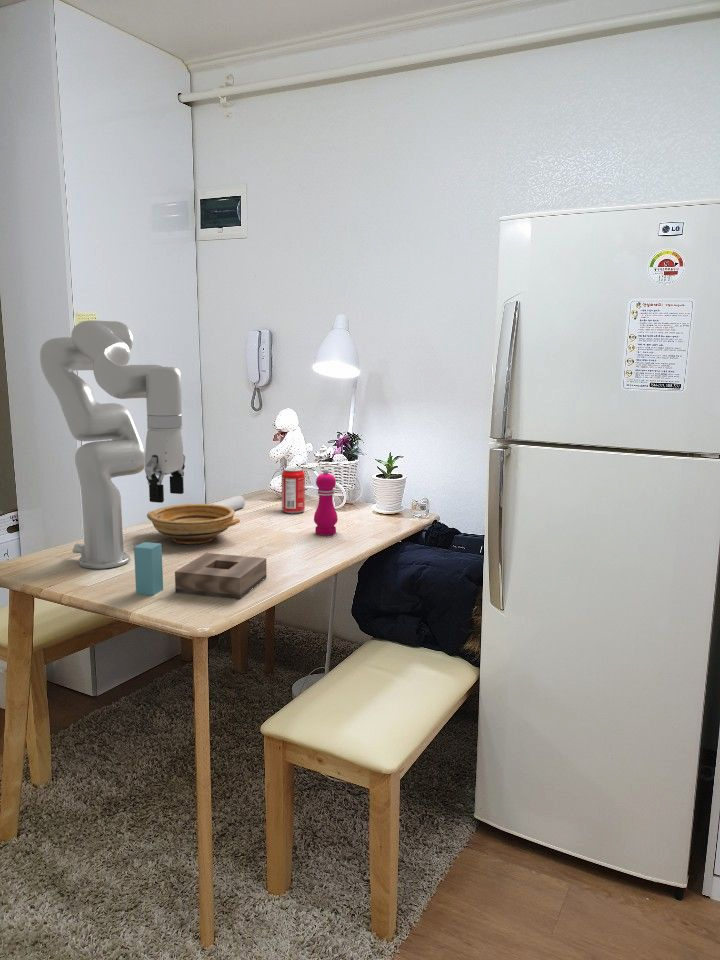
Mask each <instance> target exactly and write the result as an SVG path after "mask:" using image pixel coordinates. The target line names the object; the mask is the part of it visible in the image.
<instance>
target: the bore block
mask: <svg viewBox="0 0 720 960" xmlns="http://www.w3.org/2000/svg"><path fill="white" fill-rule="evenodd" d="M267 576H268V575H267V557H256V556H245V555H235V554H222V553H214V552H213V553H212V552H211V553H210V552H205V553H204V554H202V555H200V556H198V557H197V558H195V559H194V560H192V561H190V562H189V563H187V564H185V565H183V566H182V567H180V568H178V569H177V570H175V571H174V584H175V585H174V587H175V591H174V592H175V593H176V594H185V595H186V594H187V595H195V596H204V597H216V598H227V599H233V598H235V599H234V600H241V599H243V598H244V597H245V596H246V595H247V594H248V593H250V592H251V591H252V590H253V589H255V588H256V587H257V586H258V585H260V584H261V583H262V582H263V581H264V580H263V579H265V578H266V577H267ZM266 579H267V578H266ZM266 579H265V580H266ZM262 580H263V581H262ZM261 581H262V582H261ZM260 582H261V583H260ZM259 583H260V584H259ZM257 584H258V585H257ZM256 585H257V586H256ZM255 586H256V587H255ZM254 587H255V588H254ZM252 588H253V589H252ZM251 589H252V590H251ZM250 590H251V591H250ZM249 591H250V592H249ZM245 594H246V595H245ZM244 595H245V596H244Z"/></svg>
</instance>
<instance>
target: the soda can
mask: <svg viewBox="0 0 720 960" xmlns="http://www.w3.org/2000/svg"><path fill="white" fill-rule="evenodd" d="M305 484H306V474H305V472H304V469H303V468H302V467H285V468H283V471H282V473H281V510H282V511H283V512H284V513H286V514H289V513H290V514H289V515H291V514H292V515H294V514H295V515H296V514H300V513H302V512H304V511H305V510H306V508H305V507H306V502H305V501H306V493H305V492H306V485H305Z"/></svg>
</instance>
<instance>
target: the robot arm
mask: <svg viewBox="0 0 720 960" xmlns="http://www.w3.org/2000/svg"><path fill="white" fill-rule="evenodd" d="M70 334H71V335H70V336H69V337H68V336H67V337H55V338H50V339H48V340H46V341H44V342H43V344H42V345H41V348H40V353H39V360H40V361H39V362H40V367H41V371H42V373H43V376H44V378H45V380H46V381H47V383H48V384H49V386H50V387H51V389H52V391H53V392H54V394H55V396H56V398H57V399H58V402H59V405H60V408H61V410H62V413H63V416H64V418H65V421H66V424H67V427H68V428H69V431H70V434H71V435H72V437H73V438H74V439H75V440H77V441H78V442H86V443H84V444H81V446H79V447H78V448H77V450H76V452H75V454H74V463H75V466H76V471H77V475H78V480H79V485H80V495H81V508H82V509H81V512H82V527H83V543H76V544H74V547H73V549H72V553H73V554H74V553H75V554H80V558H78V565H79V566H81V567H82V568H86V569H97V570H99V569H109V568H110V569H112V568H117V567H120V566H124V565H126V564H128V563H129V562H130V560H131V556H130V554H129V553H127V552H124V537H123V535H124V532H123V514H122V513H123V511H122V496H121V492H120V490H119V488H118V487H117V486H116V485H115V484H114V482H113V481H112V479H113V478H118V477H125V476H132V475H137V474H140V473H142V472H143V470H144V472H145V477H146V480H147V485H148V490H149V491H148V492H149V493H148V496H149V502H151V503H159V504H160V503H161V504H163V503H164V501H165V498H164V497H165V496H164V495H165V492H164V491H165V490H164V484H162V483H163V480H164V477H165V476H167V475H170V476H169V493H170V494H173V495H175V494H176V495H177V494H178V495H183V494H184V492H185V491H184V489H185V488H184V487H185V486H184V475H185V471H184V469H185V467H186V465H185V462H186V456H185V454H184V446H183V437H182V430H183V415H182V412H183V411H182V379H181V378H182V377H181V371H180V370H179V369H178V368H177V367H174V366H162V365H160V364H159V365H158V364H129V361H130V358H131V350H132V348H133V345H134V336H133V333H132V331H131V329H130V328H129V327H128V325H126V324H125V323H124V322H120V321H115V320H114V321H113V320H93V319H92V320H84V321H81V322H79V323H77V324H76V325H75V326H74V327H73V328H72V330H71V333H70ZM75 371H93V375H94V378H95V381H96V384H97V385H98V387H100V388H101V389H102V390H103V391H104V392H106V394H108V395H110V396H111V397H113V398H116V399H120V400H127V399H131V400H132V399H146V402H145V403H146V421H147V422H146V423H147V425H146V428H147V430H146V431H147V432H146V437H145V438H146V439H145V447H144V445H143V442H142V440H141V438H140V435H139V433H138V430H137V427H136V424H135V421H134V420H133V418H132V414H131V412H130V411H129V410H128V409H127V408H126V407H125V406H124V405H122V404H120V403H115V402H114V403H113V402H111V403H99V402H97V400H96V399H95V396H94V394H93V391H92V388H91V387H90V386H89V384H88V383H87V382H86V381H85V380H84V379H82V377H80V376H79V375H77V374H76V373H75ZM157 476H158V477H157Z"/></svg>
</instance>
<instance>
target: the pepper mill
mask: <svg viewBox="0 0 720 960" xmlns="http://www.w3.org/2000/svg"><path fill="white" fill-rule="evenodd" d="M336 483H337V481H336V477H335V476H334V475H333V474H331V473H330V470H329V469H328V468H327V467H326V468H323V470H322V473H321V474H319V475H317V477H316V480H315V485H316V487H317V488H318V489H317V494H318V503H317V506H316V507H317V508H316V510H315V512H314V514H313V515H314V516H313V522H314V523H315V525H316V526H315V530H314V532H315V534H316V535H317V536H318V535H319V536H333V535H335V534H336V533H337V531H336V530H337V527H336V526H335V525H336V524H337V523H338V514H337V511H336V509H335V506H334V501H333V497H334V495H335V489H334V488H335V487H336V485H337V484H336Z"/></svg>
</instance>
